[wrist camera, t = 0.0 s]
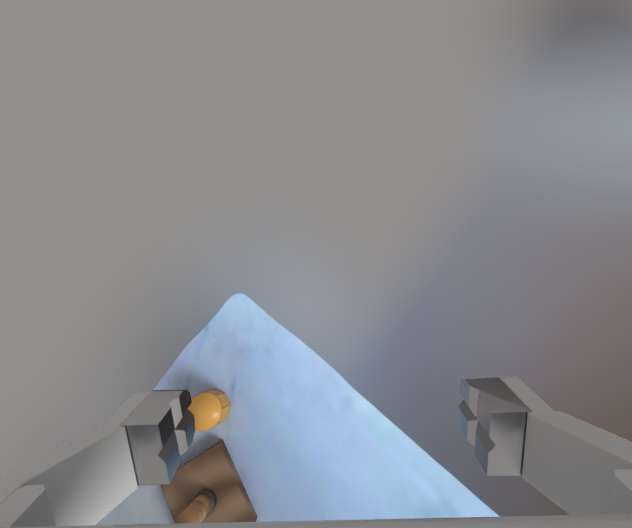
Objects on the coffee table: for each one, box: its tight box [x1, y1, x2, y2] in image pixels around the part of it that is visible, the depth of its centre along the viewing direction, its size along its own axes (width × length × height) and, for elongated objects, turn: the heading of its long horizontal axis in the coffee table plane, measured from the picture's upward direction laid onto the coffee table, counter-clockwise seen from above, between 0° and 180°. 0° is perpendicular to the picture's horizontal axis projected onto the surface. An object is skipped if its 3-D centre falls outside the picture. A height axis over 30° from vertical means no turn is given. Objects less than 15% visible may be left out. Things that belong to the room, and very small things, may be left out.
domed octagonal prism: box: [188, 389, 230, 431], centre depth 58 cm, size 6×6×5 cm
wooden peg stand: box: [160, 440, 257, 524], centre depth 52 cm, size 14×12×9 cm
